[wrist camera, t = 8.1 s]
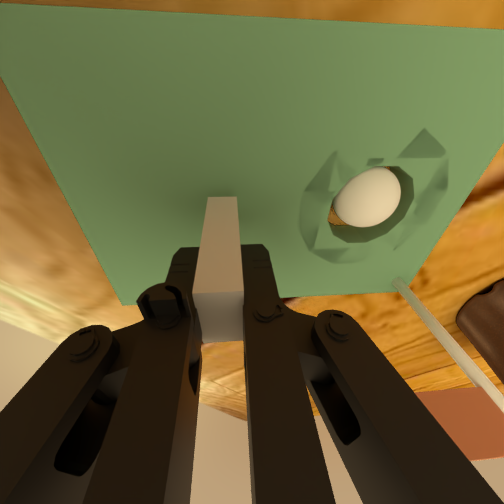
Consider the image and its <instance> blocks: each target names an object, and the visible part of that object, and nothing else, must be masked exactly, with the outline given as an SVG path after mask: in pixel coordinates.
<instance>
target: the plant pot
mask: <svg viewBox="0 0 504 504" xmlns="http://www.w3.org/2000/svg"><path fill="white" fill-rule="evenodd" d="M456 322H457V325H458V327H459V328H460V329H461V330H462V331H463V333H464V334H465V335H466V336H467V338H468V339H469V340H470V342H471V343H472V344H473V345H474V347H475V348H476V349H477V351H478V352H479V353H480V354H481V356H482V357H483V358H484V360H485V361H486V362H487V364H488V365H489V366H490V367H491V369H492V370H493V371H494V373H495V374H496V375H497V377H498V378H499V379H500V380H501V382H502V383H503V384H504V280H502V281H500V282H498V283H496V284H494V286H493V289H492V291H490V292H489V293H487V294H483V295H476V296H474V297H473V298H472V299H471V300H470V301H469V302H467V303H466V305H465V306H464V307H463V308H462V309H461V311H460V312H459V314H458V316H457V321H456Z"/></svg>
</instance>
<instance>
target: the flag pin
mask: <svg viewBox="0 0 504 504" xmlns="http://www.w3.org/2000/svg"><path fill="white" fill-rule="evenodd" d="M392 284H393V285H394V286H395V288H396V289H397V290H398V291H399V293H400V294H401V295H402V296H403V297H404V299H405V300H406V301H407V302H408V304H409V305H410V306H411V307H412V309H413V310H414V311H415V312H416V314H417V315H418V316H419V317H420V319H421V320H422V321H423V322H424V323H425V325H426V326H427V327H428V328H429V330H430V331H431V332H432V333H433V335H434V336H435V337H436V338H437V340H438V341H439V342H440V343H441V344H442V346H443V347H444V348H445V349H446V351H447V352H448V353H449V354H450V356H451V357H452V358H453V359H454V361H455V362H456V363H457V364H458V365H459V367H460V368H461V369H462V370H463V372H464V373H465V374H466V375H467V377H468V378H469V379H470V380H471V382H472V383H473V384H474V385H475V387H472V388H461V389H450V390H438V391H427V392H416V393H415V394H416V395H417V397H418V398H419V399H420V400H421V402H422V403H423V404H424V405H425V407H426V408H427V409H428V410H429V411H430V413H431V414H432V415H433V416H434V418H435V419H436V420H437V421H438V423H439V424H440V425H441V426H442V428H443V429H444V430H445V431H446V432H447V434H448V435H449V436H450V437H451V439H452V440H453V441H454V442H455V444H456V445H457V446H458V447H459V448H460V450H461V451H462V452H463V453H464V455H465V456H466V457H467V458H468V460H469V461H477V460H486V459H494V458H502V457H504V396H503V395H502V394H501V392H500V391H499V390H498V389H497V388H496V387H495V386H494V384H493V383H492V382H491V381H490V380H489V379H488V378H487V376H486V375H485V374H484V373H483V372H482V371H481V370H480V368H479V367H478V366H477V365H476V364H475V363H474V362H473V360H472V359H471V358H470V357H469V356H468V355H467V354H466V352H465V351H464V350H463V349H462V348H461V347H460V346H459V344H458V343H457V342H456V341H455V340H454V339H453V338H452V336H451V335H450V334H449V333H448V332H447V331H446V329H445V328H444V327H443V326H442V325H441V324H440V323H439V321H438V320H437V319H436V318H435V317H434V316H433V315H432V313H431V312H430V311H429V310H428V309H427V308H426V307H425V305H424V304H423V303H422V302H421V301H420V300H419V299H418V297H417V296H416V295H415V294H414V293H413V292H412V291H411V289H410V288H409V287H408V286H407V285H406V284H405V283H404V281H403V280H402V279H401V278H399V277H397V278H395V279H393V280H392Z"/></svg>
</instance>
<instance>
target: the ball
mask: <svg viewBox="0 0 504 504" xmlns="http://www.w3.org/2000/svg"><path fill="white" fill-rule="evenodd" d="M400 195H401V189H400V184H399V181H398V179H397V178H396V176H395V175H394V174H393V173H392V172H391V171H390V170H388V169H387V168H385V167H383V166H374V167H372V168H370V169H368V170H366V171H364V172H362V173H360V174H358V175H357V176H355V177H353V178H351V179H349V181H348V182H347V183H346V184H345V185H344V186H343V188H342V189H341V190H340V191H339V192H338V193H337V195H336V196H335V197H334V198H333V200H332V204H333V208H334V211H335V213H336V214H337V216H338V217H339V218H340V219H341V220H342V221H344V222H345V223H347V224H349V225H352V226H356V227H370V226H374V225H377V224H379V223H381V222H383V221H384V220H386V219H387V218H388V217H389V216H390V215H391V214H392V213H393V212H394V211H395V209H396V208H397V206H398V204H399V201H400Z"/></svg>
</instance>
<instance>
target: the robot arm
mask: <svg viewBox="0 0 504 504" xmlns="http://www.w3.org/2000/svg"><path fill="white" fill-rule="evenodd" d="M170 265H171V266H170V267H169V271H168V274H167V277H166V280H165V282H164V283H158V284H156V285H153V286H151V287H149V288H147V289H146V290H145V291H144V292H142V293H141V294H140V296H139V297H138V299H137V300H136V303H137V305H138V307H139V309H140V311H141V313H142V315H143V317H144V320H142V321H140V322H138V323H136V324H133V325H130V326H127V327H124V328H121V329H118V330H115V331H112V332H111V330H110V329H109V328H108V327H106V326H103V325H91V326H88V327H85V328H82V329H80V330H78V331H76V332H75V333H73V334H71V335H70V336H69V337H68V338H67V339H65V340H64V341H63V342H62V343H61V344H60V345H59V346H58V348H57V349H56V350H55V351H54V352H53V353H52V354H51V355H50V357H49V358H48V359H47V360H46V361H45V363H43V365H42V366H41V367H40V368H39V369H38V370H37V371H36V372H35V374H34V375H33V376H32V377H31V378H30V379H29V381H28V382H27V383H26V384H25V385H24V386H23V387H22V389H20V391H19V392H18V393H17V394H16V395H15V396H14V397H13V398H12V400H11V401H10V402H9V403H8V404H7V405H6V406H5V408H4V409H3V410H2V411H1V412H0V504H190V494H191V483H192V471H193V460H194V448H195V436H196V426H197V414H198V403H199V391H200V380H201V369H202V353H201V342H202V340H203V343H212V342H226V341H240V340H243V342H244V367H245V385H246V403H247V421H248V439H249V455H250V456H249V457H250V474H251V493H252V504H336V503H335V499H334V495H333V491H332V487H331V483H330V479H329V475H328V471H327V467H326V463H325V459H324V455H323V451H322V447H321V443H320V439H319V435H318V431H317V428H316V423H315V419H314V415H313V411H312V407H311V403H310V399H309V395H308V391H307V388H308V390H309V392H310V394H311V396H312V398H313V400H314V402H315V404H316V406H317V408H318V411H319V413H320V415H321V416H322V419H323V421H324V423H325V425H326V427H327V429H328V431H329V433H330V435H331V438H332V440H333V442H334V444H335V446H336V448H337V450H338V452H339V454H340V456H341V458H342V461H343V462H344V465H345V467H346V469H347V471H348V473H349V475H350V477H351V479H352V481H353V483H354V485H355V488H356V490H357V492H358V494H359V496H360V498H361V500H362V502H363V504H504V503H503V502H502V500H501V499H500V498H499V497H498V495H497V494H496V493H495V492H494V491H493V489H492V488H491V487H490V486H489V484H488V483H487V482H486V481H485V479H484V478H483V477H482V476H481V475H480V473H479V472H478V471H477V470H476V468H475V467H474V466H473V465H472V463H471V462H470V461H469V460H468V458H467V457H466V456H465V455H464V453H463V452H462V451H461V450H460V448H459V447H458V446H457V445H456V444H455V442H454V441H453V440H452V439H451V437H450V436H449V435H448V434H447V432H446V431H445V430H444V429H443V428H442V426H441V425H440V424H439V423H438V421H437V420H436V419H435V418H434V416H433V415H432V414H431V413H430V411H429V410H428V409H427V408H426V407H425V405H424V404H423V403H422V402H421V400H420V399H419V398H418V397H417V395H416V394H415V393H414V392H413V390H412V389H411V388H410V387H409V386H408V384H407V383H406V382H405V381H404V379H403V378H402V377H401V376H400V374H399V373H398V372H397V371H396V369H395V368H394V367H393V366H392V365H391V363H390V362H389V361H388V360H387V358H386V357H385V356H384V355H383V353H382V352H381V351H380V350H379V348H378V347H377V346H376V345H375V344H374V342H373V341H372V340H371V339H370V337H369V336H368V335H367V334H366V332H365V331H364V330H363V329H362V327H361V326H360V325H359V324H358V323H357V322H356V321H355V320H354V319H353V318H352V317H351V316H350V315H348V314H346V313H344V312H342V311H338V310H325V311H323V312H321V313H319V314H318V316H317V317H314V316H310V315H306V314H301V313H298V312H295V311H293V310H291V309H289V308H288V307H287V306H286V305H285V304H284V303H283V302H282V301H281V299H280V296H279V293H278V289H277V284H276V280H275V276H274V272H273V268H272V263H271V259H270V255H269V251H268V250H267V249H266V247H265V246H264V245H263V244H241V245H240V233H239V220H238V207H237V197H208V200H207V206H206V212H205V218H204V224H203V230H202V237H201V243H200V247H180V249H179V250H178V251H177V252H176V253H175V254H174V255H173V258H172V261H171V264H170ZM305 383H306V384H305ZM306 386H307V388H306Z"/></svg>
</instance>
